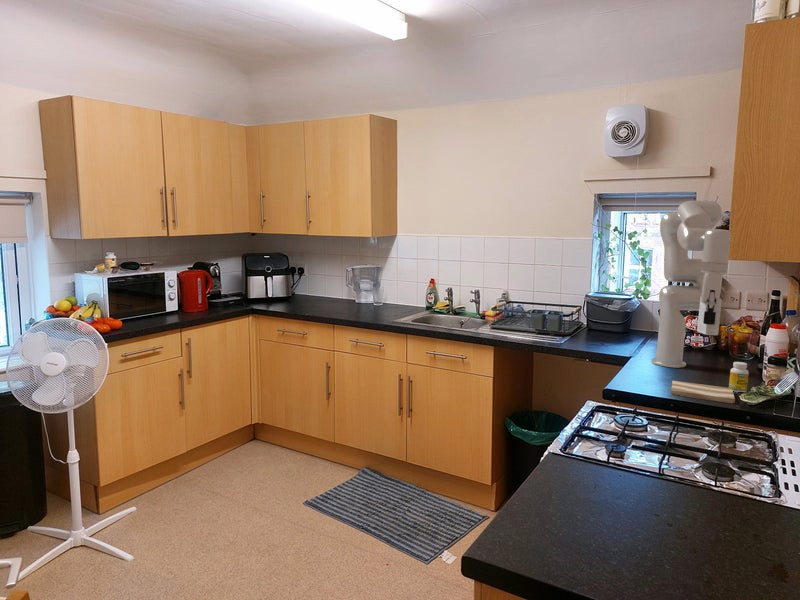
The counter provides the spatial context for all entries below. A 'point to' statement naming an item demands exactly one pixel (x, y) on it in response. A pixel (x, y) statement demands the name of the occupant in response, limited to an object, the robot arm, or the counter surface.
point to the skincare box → (708, 328)
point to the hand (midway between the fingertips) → (708, 322)
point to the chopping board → (703, 391)
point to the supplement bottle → (739, 377)
